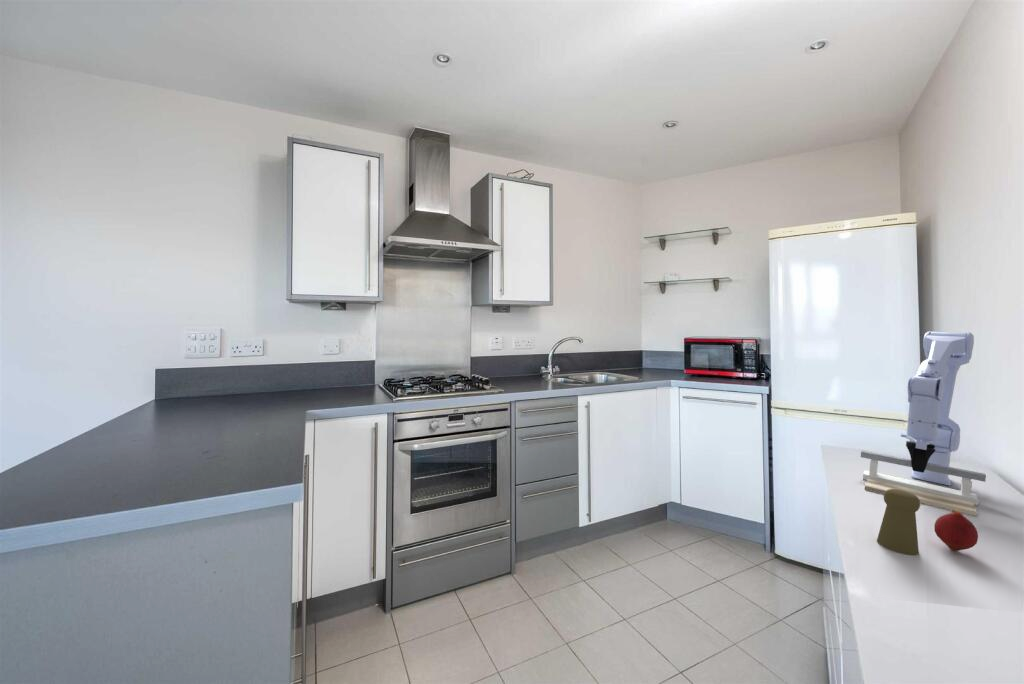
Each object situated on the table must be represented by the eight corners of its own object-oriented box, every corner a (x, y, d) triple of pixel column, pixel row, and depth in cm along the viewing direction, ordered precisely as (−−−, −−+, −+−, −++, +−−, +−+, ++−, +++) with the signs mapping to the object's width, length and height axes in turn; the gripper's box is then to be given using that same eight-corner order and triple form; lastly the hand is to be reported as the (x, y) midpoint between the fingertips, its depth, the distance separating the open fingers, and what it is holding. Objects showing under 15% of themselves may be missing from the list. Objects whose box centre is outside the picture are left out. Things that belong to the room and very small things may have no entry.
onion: (966, 547, 82) (969, 507, 82) (983, 561, 77) (987, 519, 77) (927, 539, 85) (930, 501, 84) (941, 553, 79) (945, 512, 79)
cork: (901, 540, 84) (906, 486, 83) (928, 556, 78) (933, 499, 77) (868, 537, 85) (873, 484, 84) (893, 553, 79) (898, 496, 78)
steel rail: (861, 455, 122) (861, 450, 122) (984, 479, 105) (984, 473, 105) (860, 457, 120) (861, 451, 120) (985, 481, 104) (985, 475, 104)
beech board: (866, 482, 117) (867, 478, 117) (972, 506, 103) (972, 502, 103) (864, 489, 111) (864, 485, 111) (976, 516, 97) (976, 511, 97)
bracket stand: (864, 475, 122) (866, 451, 122) (975, 499, 107) (978, 473, 107) (862, 479, 119) (864, 455, 118) (977, 505, 104) (980, 477, 103)
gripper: (902, 414, 120) (898, 460, 121) (901, 421, 110) (897, 472, 110) (937, 419, 115) (932, 467, 116) (940, 427, 105) (935, 480, 105)
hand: (918, 470), depth 113 cm, fingers closed on steel rail, 2 cm apart
